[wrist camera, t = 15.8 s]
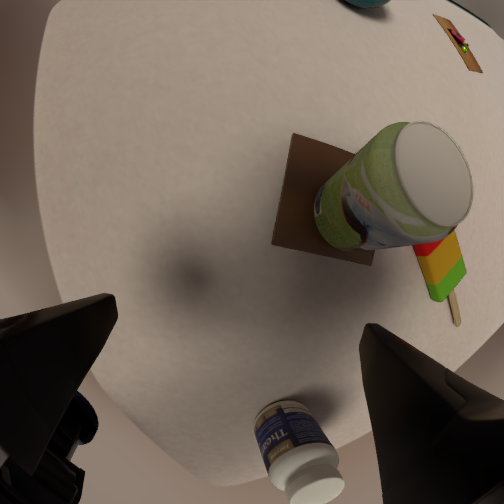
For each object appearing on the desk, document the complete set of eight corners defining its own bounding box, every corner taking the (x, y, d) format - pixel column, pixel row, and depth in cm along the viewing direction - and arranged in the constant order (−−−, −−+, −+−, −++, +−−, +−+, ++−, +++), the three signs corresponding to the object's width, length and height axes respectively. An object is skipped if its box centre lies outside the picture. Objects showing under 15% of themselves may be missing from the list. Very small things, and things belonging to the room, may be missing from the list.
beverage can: (354, 264, 21) (472, 287, 10) (280, 216, 20) (377, 192, 8) (383, 201, 22) (497, 183, 10) (318, 150, 20) (417, 83, 9)
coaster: (369, 265, 22) (371, 265, 22) (270, 244, 21) (272, 244, 20) (383, 167, 22) (385, 166, 22) (291, 134, 20) (293, 132, 20)
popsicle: (431, 197, 23) (443, 195, 21) (465, 309, 25) (475, 312, 24) (401, 223, 23) (414, 222, 21) (440, 339, 25) (451, 343, 23)
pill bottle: (263, 395, 21) (298, 473, 12) (317, 401, 22) (368, 466, 13) (245, 438, 21) (267, 516, 12) (296, 442, 22) (332, 509, 13)
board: (469, 70, 25) (474, 67, 24) (432, 14, 24) (437, 10, 22) (482, 72, 26) (487, 70, 24) (449, 20, 25) (453, 17, 23)
